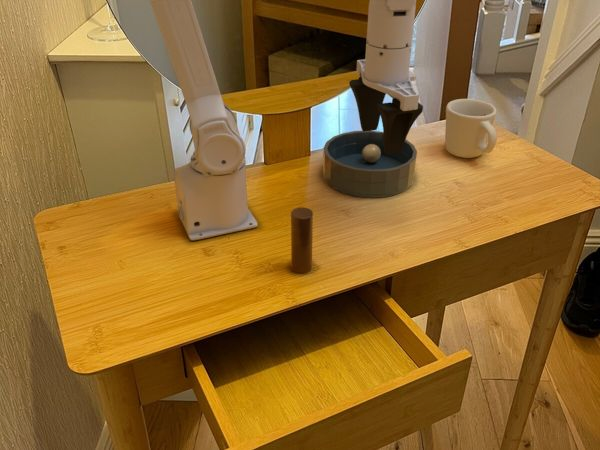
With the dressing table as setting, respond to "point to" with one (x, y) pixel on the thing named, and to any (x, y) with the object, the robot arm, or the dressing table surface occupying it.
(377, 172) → the bowl
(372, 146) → the bead
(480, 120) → the cup
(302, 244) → the stick
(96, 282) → the dressing table surface
